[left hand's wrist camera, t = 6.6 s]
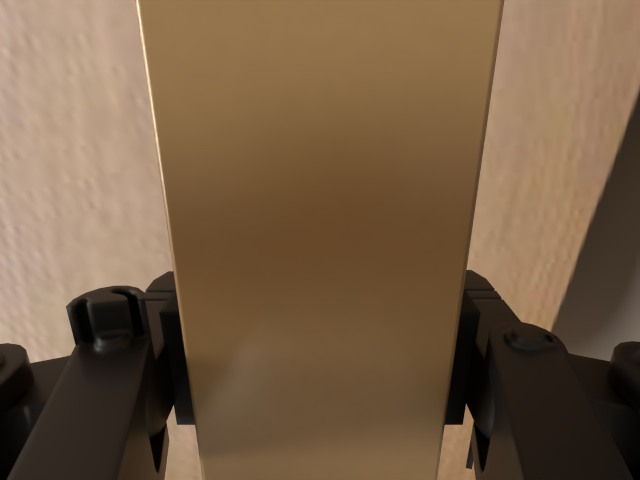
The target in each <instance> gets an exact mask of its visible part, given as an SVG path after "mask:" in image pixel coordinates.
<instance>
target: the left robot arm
mask: <svg viewBox="0 0 640 480" xmlns="http://www.w3.org/2000/svg"><path fill="white" fill-rule="evenodd" d="M66 309H67V312H68V316H69V320H70V324H71V328H72V332H73V336H74V340H75V344H76V346H75V348H74V350H73V352H72V354H71V355H70V356H66V357H62V358H56V359H51V360H46V361H41V362H35V363H30V362H29V358H28V355H27V352H26V349H24V348H23V347H22V346H20V345H16V344H9V343H6V344H0V480H164V478H165V470H166V462H167V454H168V446H169V435H168V429H167V423H166V421H167V419H168V416H169V414H170V412H171V410H172V407H173V405H174V408H175V415H176V421H177V425H195V420H194V413H193V406H192V399H191V391H190V384H189V377H188V370H187V363H186V356H185V349H184V342H183V335H182V328H181V320H180V313H179V306H178V299H177V292H176V285H175V278H174V272H167V273H165V274H164V275H162V276H160V277H158V278H157V279H155V280H154V281H153V282H152V283H151V284H150V286H149V287H148V288H147V289H146V292H143V291H141V290H140V289H139V288H136V287H131V286H111V287H105V288H99V289H96V290H93V291H90V292H87V293H85V294H83V295H81V296H79V297H77V298H75V299H73V300H72V301H71V302H70V303H69V304H68V305H67V306H66ZM466 404H467V406H468V408H469V410H470V413H471V415H472V417H473V419H474V423H473V429H472V435H471V440H470V446H469V452H468V458H467V464H466V468H469V469H472V465H473V461H474V469H475V477H476V480H640V342H634V341H631V342H624V343H620V344H619V345H617V346H616V347H615V348H614V350H613V354H612V357H611V360H610V361H604V360H599V359H594V358H588V357H583V356H578V355H574V354H570V353H568V351H567V349H566V347H565V345H564V344H563V343H562V342H561V341H560V339H559V338H558V337H557V336H555V335H554V334H552V333H550V332H549V331H547V330H545V329H543V328H540V327H538V326H535V325H533V324H528V323H523V322H521V321H520V320H519V319H518V317H517V316H516V315H515V314H514V312H513V311H512V310H511V309H510V308H509V306H508V305H507V304H506V303H505V301H504V300H501V296H500V295H499V294H498V293H497V292H496V291H494V288H493V287H492V285H491V284H490V283H489V282H488V281H487V279H486V278H484V277H482V276H480V275H479V274H477V273H475V272H474V271H472V270H466V276H465V283H464V290H463V297H462V304H461V311H460V318H459V325H458V333H457V340H456V347H455V354H454V361H453V368H452V375H451V382H450V389H449V397H448V404H447V411H446V418H445V425H463V419H464V413H465V406H466Z"/></svg>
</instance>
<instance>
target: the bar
mask: <svg viewBox="0 0 640 480" xmlns="http://www.w3.org/2000/svg"><path fill="white" fill-rule="evenodd" d="M135 1H136V8H137V15H138V22H139V29H140V36H141V43H142V50H143V58H144V65H145V72H146V79H147V86H148V93H149V100H150V107H151V114H152V122H153V129H154V136H155V143H156V150H157V157H158V164H159V171H160V178H161V185H162V193H163V200H164V207H165V214H166V221H167V228H168V235H169V242H170V249H171V256H172V264H173V271H174V278H175V285H176V292H177V299H178V306H179V313H180V320H181V328H182V335H183V342H184V349H185V356H186V363H187V370H188V377H189V384H190V391H191V399H192V406H193V413H194V420H195V427H196V434H197V441H198V448H199V455H200V463H201V470H202V477H203V480H437V475H438V468H439V461H440V453H441V446H442V439H443V432H444V425H445V418H446V411H447V404H448V397H449V389H450V382H451V375H452V368H453V361H454V354H455V347H456V340H457V333H458V325H459V318H460V311H461V304H462V297H463V290H464V283H465V276H466V269H467V261H468V254H469V247H470V240H471V233H472V226H473V219H474V212H475V205H476V197H477V190H478V183H479V176H480V169H481V162H482V155H483V148H484V141H485V133H486V126H487V119H488V112H489V105H490V98H491V91H492V84H493V77H494V69H495V62H496V55H497V48H498V41H499V34H500V27H501V20H502V12H503V5H504V0H135Z"/></svg>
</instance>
